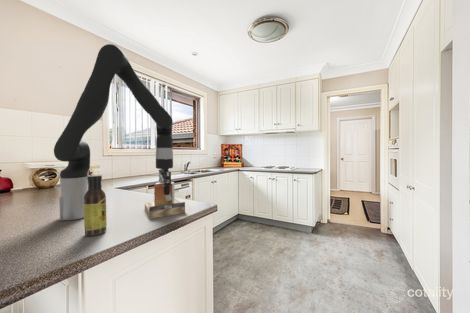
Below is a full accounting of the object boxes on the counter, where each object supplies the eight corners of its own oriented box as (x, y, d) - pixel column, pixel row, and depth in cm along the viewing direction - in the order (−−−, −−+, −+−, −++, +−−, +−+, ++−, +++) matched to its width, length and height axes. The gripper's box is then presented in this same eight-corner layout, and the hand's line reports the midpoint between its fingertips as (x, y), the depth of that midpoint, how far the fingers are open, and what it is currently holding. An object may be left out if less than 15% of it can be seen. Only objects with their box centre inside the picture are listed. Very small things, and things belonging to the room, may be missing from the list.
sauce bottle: (106, 234, 68) (105, 175, 67) (83, 238, 65) (82, 177, 64) (106, 228, 73) (105, 174, 73) (85, 231, 70) (83, 175, 69)
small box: (154, 207, 89) (153, 184, 89) (157, 204, 95) (157, 182, 94) (172, 206, 90) (172, 183, 90) (174, 203, 96) (174, 181, 95)
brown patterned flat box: (149, 218, 83) (149, 207, 83) (144, 209, 97) (144, 199, 97) (185, 212, 91) (185, 202, 91) (176, 204, 105) (175, 195, 105)
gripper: (153, 157, 96) (153, 191, 96) (158, 158, 84) (159, 197, 84) (169, 157, 100) (169, 189, 100) (176, 158, 88) (177, 195, 88)
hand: (164, 193), depth 92 cm, fingers open, 8 cm apart
